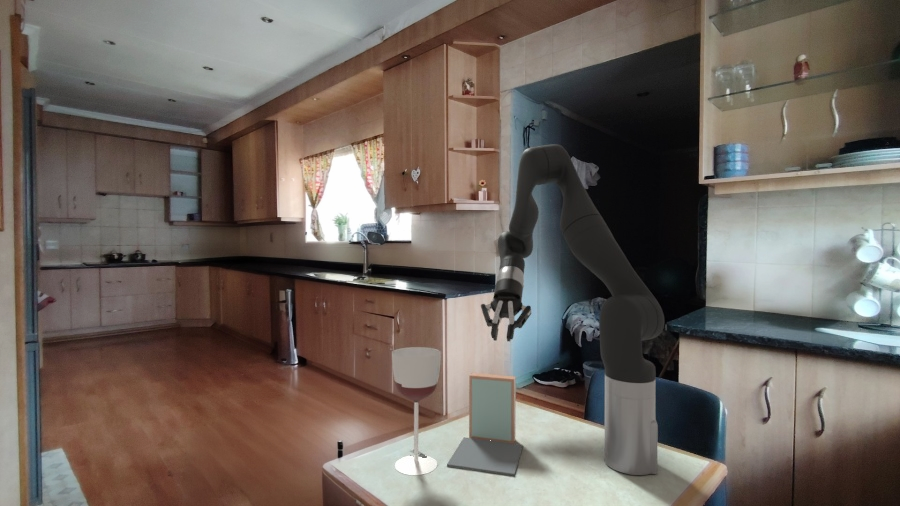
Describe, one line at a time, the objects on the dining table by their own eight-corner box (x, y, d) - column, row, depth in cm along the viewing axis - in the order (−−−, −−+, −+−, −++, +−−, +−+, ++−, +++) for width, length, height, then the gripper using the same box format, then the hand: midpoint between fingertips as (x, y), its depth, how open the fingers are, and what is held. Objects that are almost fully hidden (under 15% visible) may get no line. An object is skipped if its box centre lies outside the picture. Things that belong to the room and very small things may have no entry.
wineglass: (439, 476, 82) (440, 357, 82) (388, 475, 82) (388, 356, 82) (441, 454, 91) (441, 347, 91) (394, 453, 91) (395, 346, 91)
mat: (522, 446, 95) (522, 444, 95) (514, 476, 82) (514, 473, 82) (463, 439, 98) (463, 437, 98) (447, 466, 86) (447, 464, 86)
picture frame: (515, 439, 98) (515, 376, 98) (513, 444, 96) (514, 379, 96) (471, 434, 101) (471, 372, 101) (469, 438, 99) (469, 375, 99)
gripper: (482, 276, 121) (471, 328, 109) (534, 277, 117) (528, 331, 105) (486, 294, 126) (476, 346, 114) (536, 295, 122) (531, 349, 110)
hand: (501, 338), depth 110 cm, fingers open, 3 cm apart
